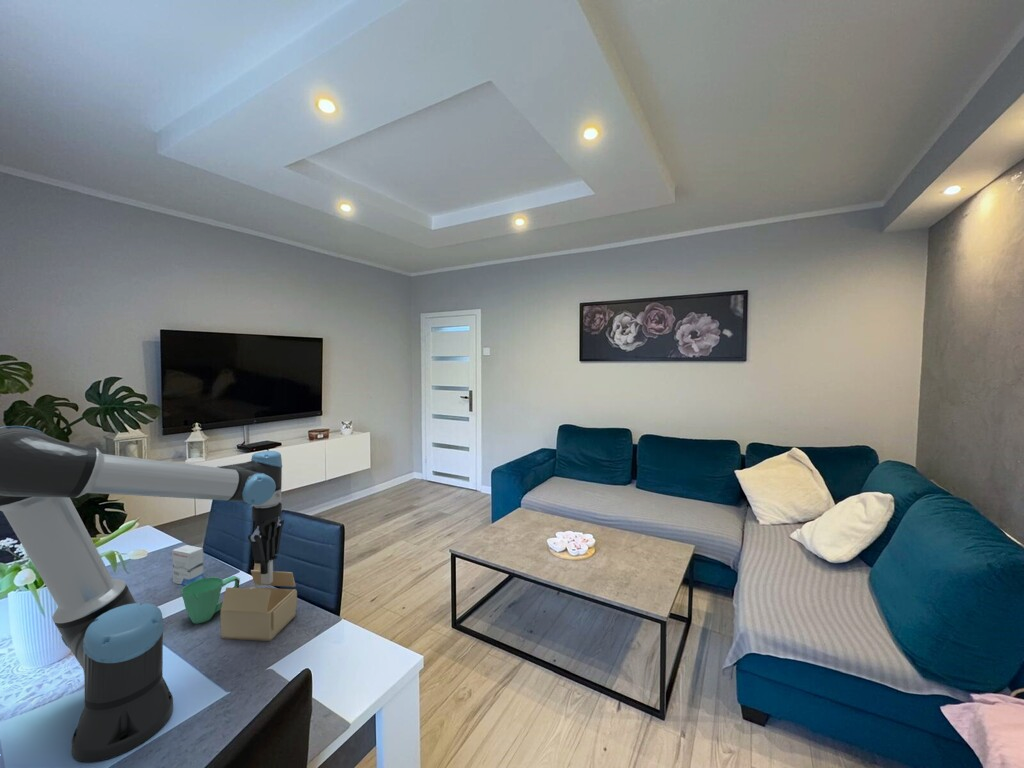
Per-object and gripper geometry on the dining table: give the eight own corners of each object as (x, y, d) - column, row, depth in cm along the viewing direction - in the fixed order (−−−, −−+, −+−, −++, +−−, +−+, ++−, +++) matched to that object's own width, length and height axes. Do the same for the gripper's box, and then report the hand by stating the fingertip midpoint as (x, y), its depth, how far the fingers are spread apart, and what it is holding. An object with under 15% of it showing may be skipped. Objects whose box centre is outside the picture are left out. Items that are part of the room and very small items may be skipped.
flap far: (295, 586, 123) (291, 573, 121) (254, 584, 124) (250, 571, 122) (295, 585, 123) (292, 572, 121) (255, 583, 124) (251, 569, 122)
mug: (188, 633, 113) (188, 598, 113) (176, 620, 119) (176, 587, 118) (246, 608, 125) (246, 577, 125) (232, 598, 131) (232, 568, 130)
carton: (272, 641, 110) (272, 613, 110) (218, 638, 111) (218, 609, 111) (297, 615, 122) (298, 589, 122) (249, 612, 123) (249, 586, 123)
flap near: (221, 609, 110) (227, 587, 112) (266, 612, 110) (271, 589, 112) (220, 609, 110) (226, 587, 112) (265, 612, 109) (270, 590, 111)
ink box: (204, 580, 141) (204, 547, 141) (189, 587, 136) (189, 553, 136) (186, 576, 144) (187, 543, 143) (171, 583, 139) (171, 549, 139)
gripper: (264, 512, 112) (264, 595, 112) (292, 497, 125) (292, 572, 125) (238, 511, 112) (238, 593, 113) (269, 496, 125) (269, 570, 126)
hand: (266, 582), depth 119 cm, fingers closed
